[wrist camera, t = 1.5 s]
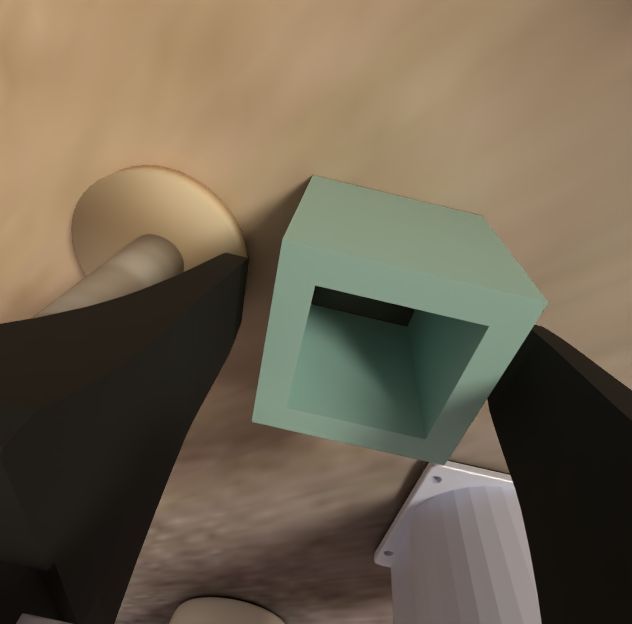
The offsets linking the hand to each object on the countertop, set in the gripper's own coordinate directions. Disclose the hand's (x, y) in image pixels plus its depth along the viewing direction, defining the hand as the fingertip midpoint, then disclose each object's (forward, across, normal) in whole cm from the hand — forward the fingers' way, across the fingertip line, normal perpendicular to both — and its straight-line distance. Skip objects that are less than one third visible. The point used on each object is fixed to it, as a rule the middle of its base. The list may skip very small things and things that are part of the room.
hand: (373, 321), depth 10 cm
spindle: (+3, +7, +1) cm, 8 cm away
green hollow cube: (+3, 0, 0) cm, 3 cm away
